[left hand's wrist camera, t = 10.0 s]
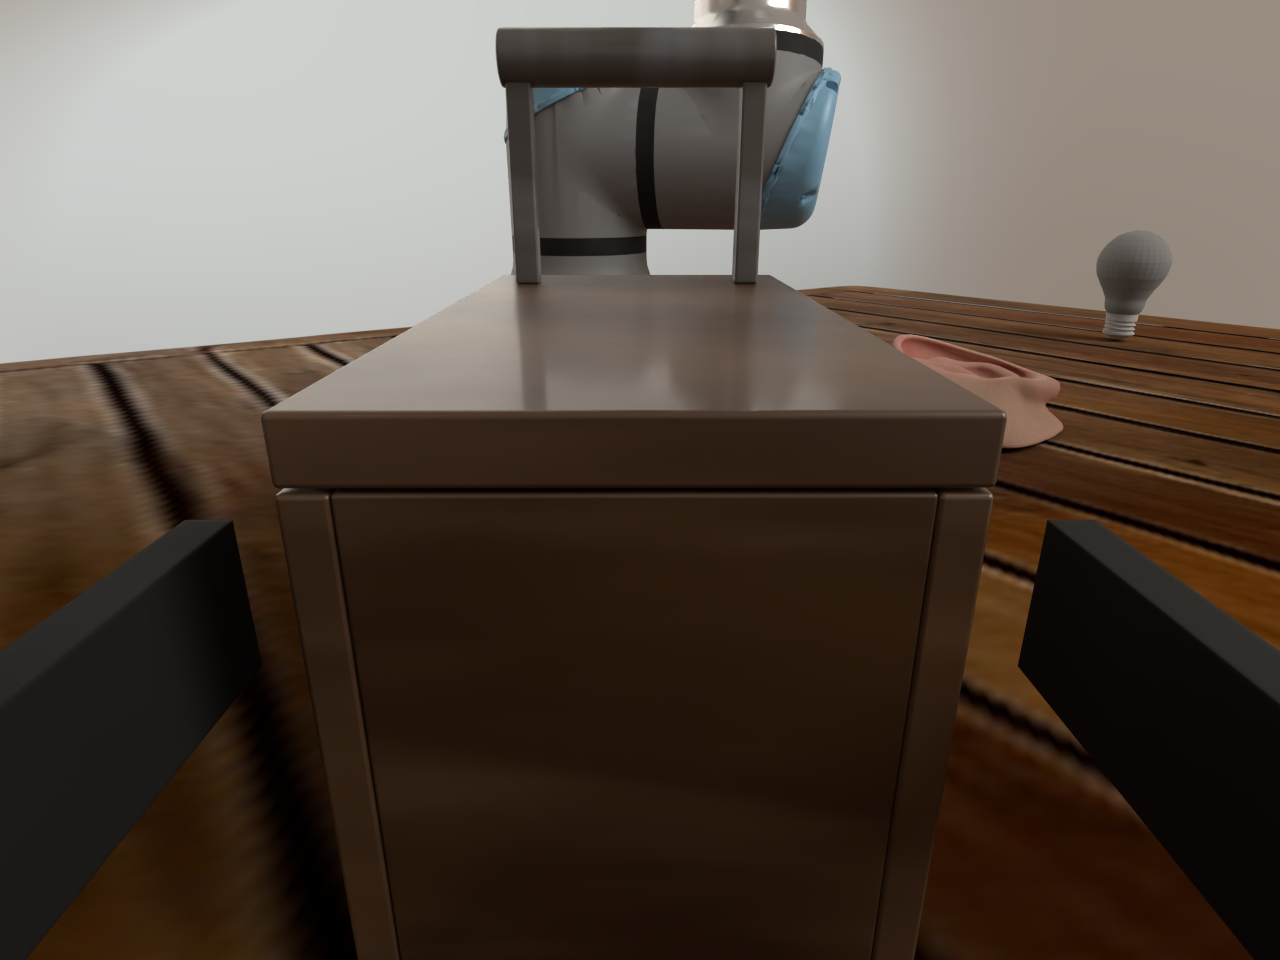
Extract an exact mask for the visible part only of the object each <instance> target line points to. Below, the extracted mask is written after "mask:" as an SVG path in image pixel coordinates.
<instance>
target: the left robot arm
mask: <svg viewBox="0 0 1280 960" xmlns="http://www.w3.org/2000/svg"><path fill="white" fill-rule="evenodd" d="M261 667H262V663H261V658H260V653H259V648H258V643H257V638H256V633H255V628H254V623H253V618H252V613H251V609H250V604H249V599H248V594H247V589H246V584H245V579H244V574H243V569H242V564H241V559H240V555H239V550H238V545H237V540H236V535H235V530H234V525H233V520H184V521H183V522H182V523H180V524H179V525H177V526H176V527H175V528H173V529H172V530H170V531H169V532H167V533H166V534H165V535H163V536H162V537H160V538H159V539H158V540H156V541H155V542H153V543H152V544H151V545H149V546H148V547H146V548H145V549H144V550H142V551H141V552H139V553H138V554H137V555H135V556H134V557H132V558H131V559H129V560H128V561H127V562H125V563H124V564H122V565H121V566H120V567H118V568H117V569H115V570H114V571H113V572H111V573H110V574H108V575H107V576H106V577H104V578H103V579H101V580H100V581H99V582H97V583H96V584H94V585H93V586H91V587H90V588H89V589H87V590H86V591H84V592H83V593H82V594H80V595H79V596H77V597H76V598H75V599H73V600H72V601H70V602H69V603H68V604H66V605H65V606H63V607H62V608H61V609H59V610H58V611H56V612H55V613H54V614H52V615H51V616H49V617H48V618H46V619H45V620H44V621H42V622H41V623H39V624H38V625H37V626H35V627H34V628H32V629H31V630H30V631H28V632H27V633H25V634H24V635H23V636H21V637H20V638H18V639H17V640H16V641H14V642H13V643H11V644H10V645H8V646H7V647H6V648H4V649H3V650H1V651H0V960H26V959H27V957H28V956H29V955H30V954H31V952H32V951H33V950H34V949H35V947H36V946H37V945H38V944H39V943H40V941H41V940H42V939H43V938H44V936H45V935H46V934H47V933H48V931H49V930H50V929H51V928H52V926H53V925H54V924H55V923H56V921H57V920H58V919H59V918H60V916H61V915H62V914H63V913H64V911H65V910H66V909H67V908H68V906H69V905H70V904H71V903H72V902H73V900H74V899H75V898H76V897H77V895H78V894H79V893H80V892H81V890H82V889H83V888H84V887H85V885H86V884H87V883H88V882H89V880H90V879H91V878H92V877H93V875H94V874H95V873H96V872H97V870H98V869H99V868H100V867H101V865H102V864H103V863H104V862H105V861H106V859H107V858H108V857H109V856H110V854H111V853H112V852H113V851H114V849H115V848H116V847H117V846H118V844H119V843H120V842H121V841H122V839H123V838H124V837H125V836H126V834H127V833H128V832H129V831H130V829H131V828H132V827H133V826H134V825H135V823H136V822H137V821H138V820H139V818H140V817H141V816H142V815H143V813H144V812H145V811H146V810H147V808H148V807H149V806H150V805H151V803H152V802H153V801H154V800H155V798H156V797H157V796H158V795H159V793H160V792H161V791H162V790H163V788H164V787H165V786H166V785H167V784H168V782H169V781H170V780H171V779H172V777H173V776H174V775H175V774H176V772H177V771H178V770H179V769H180V767H181V766H182V765H183V764H184V762H185V761H186V760H187V759H188V757H189V756H190V755H191V754H192V752H193V751H194V750H195V749H196V747H197V746H198V745H199V744H200V743H201V741H202V740H203V739H204V738H205V736H206V735H207V734H208V733H209V731H210V730H211V729H212V728H213V726H214V725H215V724H216V723H217V721H218V720H219V719H220V718H221V716H222V715H223V714H224V713H225V711H226V710H227V709H228V708H229V707H230V705H231V704H232V703H233V702H234V700H235V699H236V698H237V697H238V695H239V694H240V693H241V692H242V690H243V689H244V688H245V687H246V685H247V684H248V683H249V682H250V680H251V679H252V678H253V677H254V675H255V674H256V673H257V672H258V670H259V669H260V668H261ZM1018 667H1019V668H1020V669H1021V670H1022V672H1023V673H1024V674H1025V675H1026V677H1027V678H1028V679H1029V680H1030V682H1031V683H1032V684H1033V685H1034V687H1035V688H1036V689H1037V690H1038V692H1039V693H1040V694H1041V695H1042V697H1043V698H1044V699H1045V700H1046V702H1047V703H1048V704H1049V705H1050V707H1051V708H1052V709H1053V710H1054V711H1055V713H1056V714H1057V715H1058V716H1059V718H1060V719H1061V720H1062V721H1063V723H1064V724H1065V725H1066V726H1067V728H1068V729H1069V730H1070V731H1071V733H1072V734H1073V735H1074V736H1075V738H1076V739H1077V740H1078V741H1079V743H1080V744H1081V745H1082V746H1083V747H1084V749H1085V750H1086V751H1087V752H1088V754H1089V755H1090V756H1091V757H1092V759H1093V760H1094V761H1095V762H1096V764H1097V765H1098V766H1099V767H1100V769H1101V770H1102V771H1103V772H1104V774H1105V775H1106V776H1107V777H1108V779H1109V780H1110V781H1111V782H1112V784H1113V785H1114V786H1115V787H1116V788H1117V790H1118V791H1119V792H1120V793H1121V795H1122V796H1123V797H1124V798H1125V800H1126V801H1127V802H1128V803H1129V805H1130V806H1131V807H1132V808H1133V810H1134V811H1135V812H1136V813H1137V815H1138V816H1139V817H1140V818H1141V820H1142V821H1143V822H1144V823H1145V825H1146V826H1147V827H1148V828H1149V829H1150V831H1151V832H1152V833H1153V834H1154V836H1155V837H1156V838H1157V839H1158V841H1159V842H1160V843H1161V844H1162V846H1163V847H1164V848H1165V849H1166V851H1167V852H1168V853H1169V854H1170V856H1171V857H1172V858H1173V859H1174V861H1175V862H1176V863H1177V864H1178V865H1179V867H1180V868H1181V869H1182V870H1183V872H1184V873H1185V874H1186V875H1187V877H1188V878H1189V879H1190V880H1191V882H1192V883H1193V884H1194V885H1195V887H1196V888H1197V889H1198V890H1199V892H1200V893H1201V894H1202V895H1203V897H1204V898H1205V899H1206V900H1207V902H1208V903H1209V904H1210V905H1211V906H1212V908H1213V909H1214V910H1215V911H1216V913H1217V914H1218V915H1219V916H1220V918H1221V919H1222V920H1223V921H1224V923H1225V924H1226V925H1227V926H1228V928H1229V929H1230V930H1231V931H1232V933H1233V934H1234V935H1235V936H1236V938H1237V939H1238V940H1239V941H1240V943H1241V944H1242V945H1243V946H1244V947H1245V949H1246V950H1247V951H1248V952H1249V954H1250V955H1251V956H1252V957H1253V959H1254V960H1280V651H1279V650H1277V649H1276V648H1274V647H1273V646H1272V645H1270V644H1269V643H1267V642H1266V641H1264V640H1263V639H1262V638H1260V637H1259V636H1257V635H1256V634H1255V633H1253V632H1252V631H1250V630H1249V629H1248V628H1246V627H1245V626H1243V625H1242V624H1241V623H1239V622H1238V621H1236V620H1235V619H1234V618H1232V617H1231V616H1229V615H1228V614H1226V613H1225V612H1224V611H1222V610H1221V609H1219V608H1218V607H1217V606H1215V605H1214V604H1212V603H1211V602H1210V601H1208V600H1207V599H1205V598H1204V597H1203V596H1201V595H1200V594H1198V593H1197V592H1196V591H1194V590H1193V589H1191V588H1190V587H1188V586H1187V585H1186V584H1184V583H1183V582H1181V581H1180V580H1179V579H1177V578H1176V577H1174V576H1173V575H1172V574H1170V573H1169V572H1167V571H1166V570H1165V569H1163V568H1162V567H1160V566H1159V565H1158V564H1156V563H1155V562H1153V561H1152V560H1151V559H1149V558H1148V557H1146V556H1145V555H1143V554H1142V553H1141V552H1139V551H1138V550H1136V549H1135V548H1134V547H1132V546H1131V545H1129V544H1128V543H1127V542H1125V541H1124V540H1122V539H1121V538H1120V537H1118V536H1117V535H1115V534H1114V533H1113V532H1111V531H1110V530H1108V529H1107V528H1105V527H1104V526H1103V525H1101V524H1100V523H1098V522H1097V521H1096V520H1047V525H1046V530H1045V535H1044V540H1043V545H1042V550H1041V555H1040V559H1039V564H1038V569H1037V574H1036V579H1035V584H1034V589H1033V594H1032V599H1031V604H1030V609H1029V613H1028V618H1027V623H1026V628H1025V633H1024V638H1023V643H1022V648H1021V653H1020V658H1019V663H1018Z"/></svg>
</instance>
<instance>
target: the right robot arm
mask: <svg viewBox="0 0 1280 960" xmlns="http://www.w3.org/2000/svg"><path fill="white" fill-rule="evenodd" d="M806 4H807V0H695V22H694V25H693V26H692V27H773V28H775V31H776V35H777V57H776V67H775V74H774V79H773V82H772V85H771V86H770V87H769V88H767V101H766V120H765V139H764V159H763V178H762V197H761V217H760V230H763V229H786V228H795V227H798V226H800V225H802V224H803V223H805V222H806V221H807V220H808V219H809V218H810V216H811V215H812V213H813V211H814V208H815V204H816V200H817V196H818V191H819V187H820V182H821V177H822V172H823V168H824V162H825V158H826V153H827V148H828V143H829V138H830V133H831V128H832V123H833V117H834V112H835V107H836V101H837V96H838V90H839V84H840V80H841V76H840V73H839V72H837V71H834V70H832V69H831V68H824V69H823V70H822V64H823V48H824V46H823V42H822V40H821V39H820V38H819V37H818V36H817V34H816V33H815V32H814V31H813V30H812V29H811V28H810V27H809V26H808V25H807V23H806V20H805V19H806ZM739 96H740V88H533V97H534V120H535V143H536V165H537V188H538V211H539V234H540V256H541V275H650V273H649V270H648V266H647V259H646V233H647V229H727V230H734V220H735V195H736V170H737V146H738V121H739ZM504 140H505V143H506V147H507V163H508V179H509V195H510V210H511V226H512V239H513V269H512V273H511V275H516V269H515V251H514V232H513V214H512V196H511V178H510V160H509V142H508V124H507V106H506V131H505V135H504Z"/></svg>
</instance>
